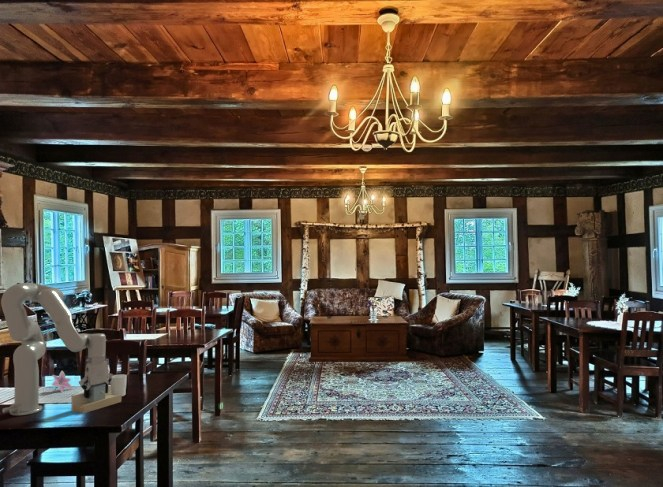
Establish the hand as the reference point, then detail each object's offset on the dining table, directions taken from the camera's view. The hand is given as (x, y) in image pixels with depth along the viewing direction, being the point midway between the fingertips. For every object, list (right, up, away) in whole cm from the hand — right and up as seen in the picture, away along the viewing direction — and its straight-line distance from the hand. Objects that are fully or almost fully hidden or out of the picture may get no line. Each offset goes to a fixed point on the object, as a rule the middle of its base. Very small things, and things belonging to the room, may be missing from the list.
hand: (96, 395), depth 225 cm
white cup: (+3, -6, +18) cm, 19 cm away
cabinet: (0, -3, 0) cm, 3 cm away
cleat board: (+1, -5, 0) cm, 5 cm away
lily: (-34, -7, +30) cm, 46 cm away
